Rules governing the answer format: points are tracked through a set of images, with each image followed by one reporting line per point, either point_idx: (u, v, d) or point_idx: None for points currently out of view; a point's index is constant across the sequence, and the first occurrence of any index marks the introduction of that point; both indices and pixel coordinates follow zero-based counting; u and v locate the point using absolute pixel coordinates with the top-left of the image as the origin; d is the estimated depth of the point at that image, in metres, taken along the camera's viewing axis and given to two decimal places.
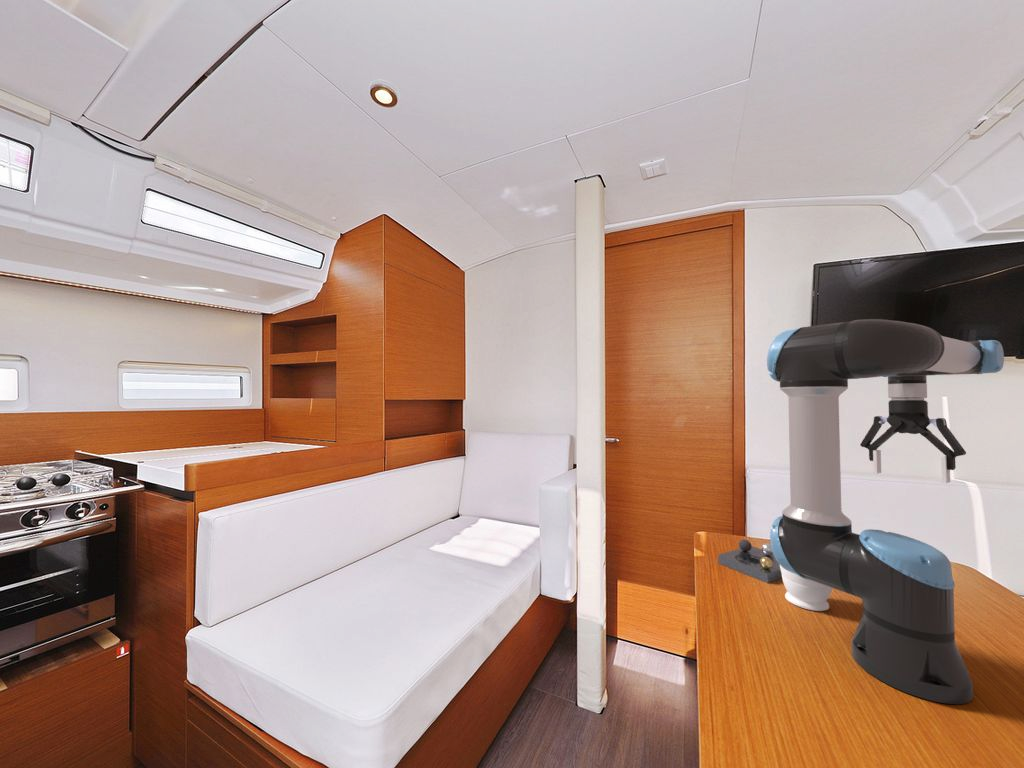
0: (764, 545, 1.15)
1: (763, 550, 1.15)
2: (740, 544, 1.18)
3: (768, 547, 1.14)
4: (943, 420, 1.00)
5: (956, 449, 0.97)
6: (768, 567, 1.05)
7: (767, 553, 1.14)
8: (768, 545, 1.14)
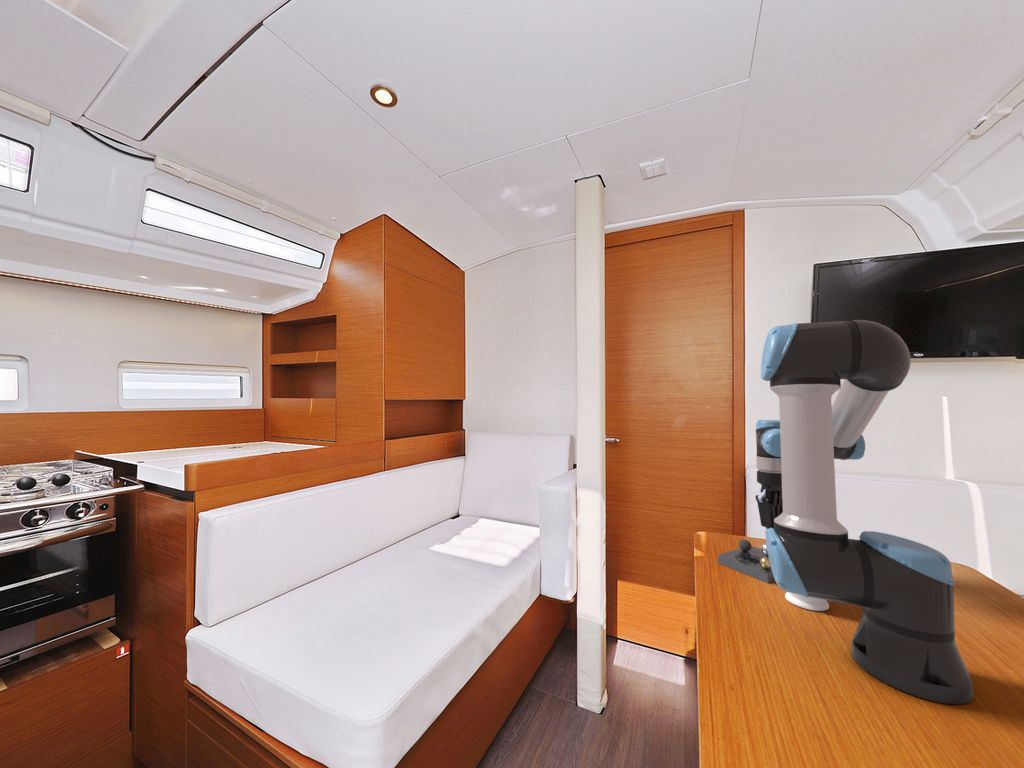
0: (764, 545, 1.15)
1: (763, 550, 1.15)
2: (740, 544, 1.18)
3: None
4: (758, 499, 1.14)
5: None
6: (768, 567, 1.05)
7: (767, 553, 1.14)
8: None
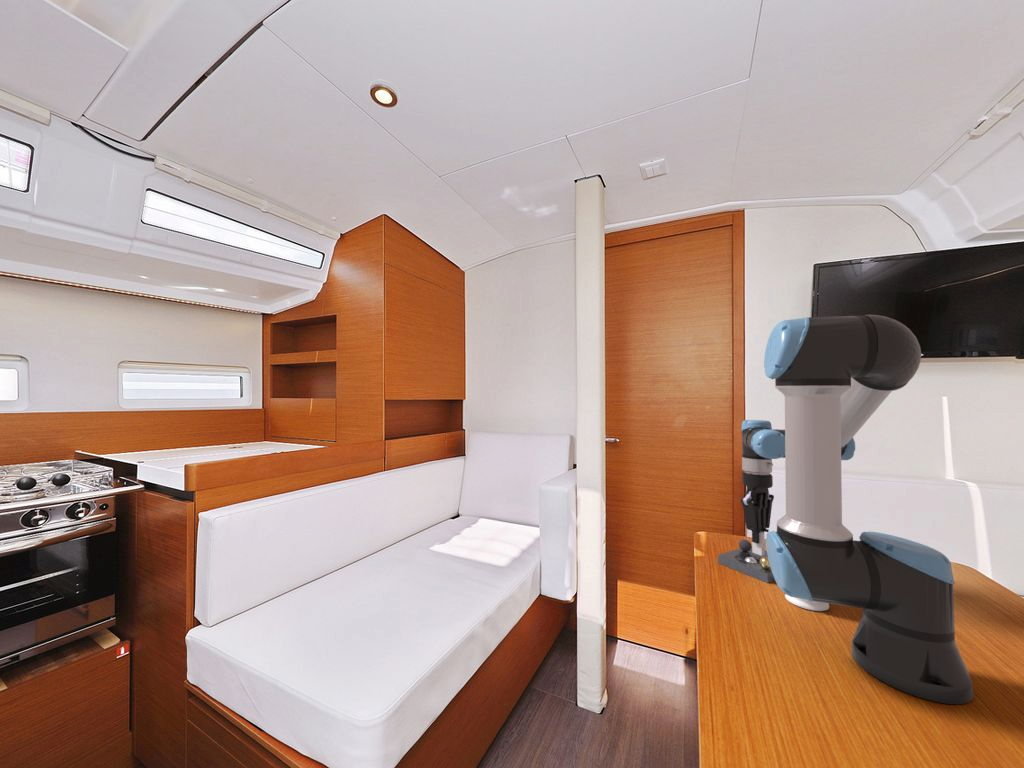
0: (750, 557, 1.12)
1: (747, 559, 1.11)
2: (740, 544, 1.18)
3: (754, 559, 1.11)
4: (743, 501, 1.11)
5: None
6: (768, 567, 1.05)
7: (750, 562, 1.10)
8: None
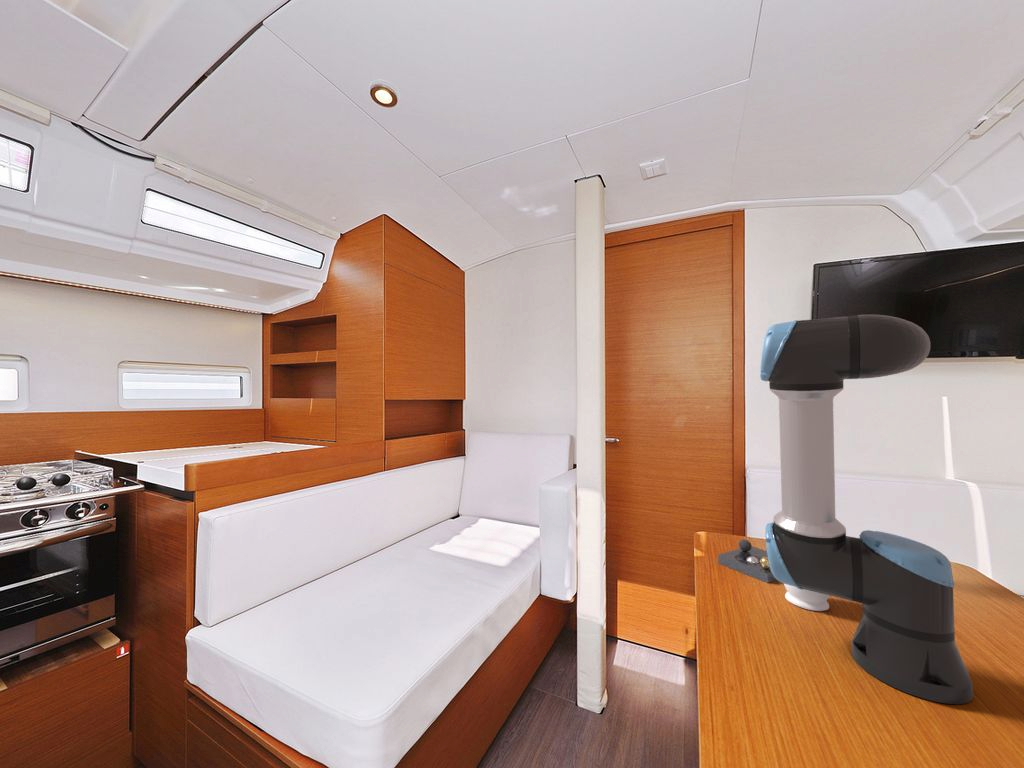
0: None
1: (750, 556, 1.12)
2: (740, 544, 1.18)
3: (757, 559, 1.11)
4: None
5: None
6: (768, 567, 1.05)
7: (753, 559, 1.11)
8: None
